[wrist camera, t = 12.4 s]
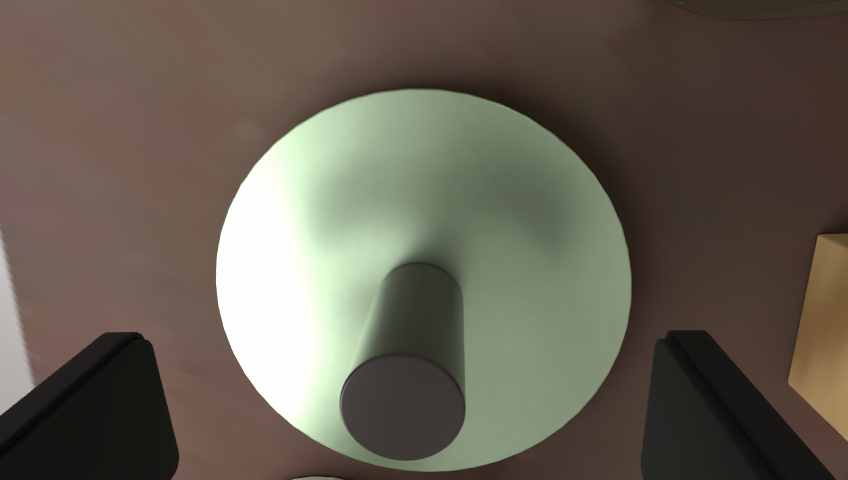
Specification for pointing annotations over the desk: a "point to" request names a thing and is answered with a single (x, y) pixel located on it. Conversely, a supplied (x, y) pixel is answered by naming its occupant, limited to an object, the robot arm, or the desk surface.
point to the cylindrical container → (317, 478)
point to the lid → (423, 280)
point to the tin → (762, 8)
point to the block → (825, 334)
